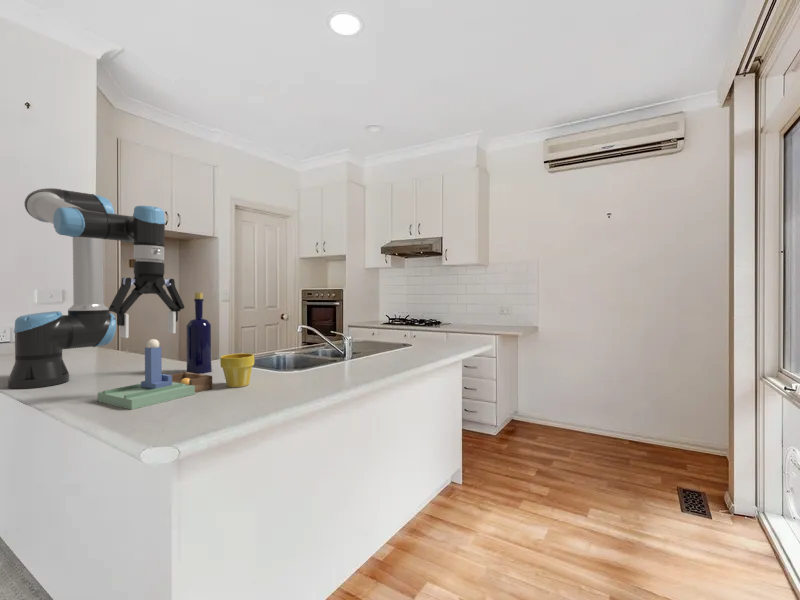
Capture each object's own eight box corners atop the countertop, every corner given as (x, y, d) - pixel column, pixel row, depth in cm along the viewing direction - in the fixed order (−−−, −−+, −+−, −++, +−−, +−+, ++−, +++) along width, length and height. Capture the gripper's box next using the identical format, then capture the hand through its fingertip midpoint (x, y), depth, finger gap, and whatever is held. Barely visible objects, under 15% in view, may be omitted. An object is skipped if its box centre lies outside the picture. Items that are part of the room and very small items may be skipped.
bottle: (205, 374, 151) (204, 292, 150) (180, 374, 151) (180, 292, 151) (217, 369, 160) (216, 292, 160) (193, 369, 160) (193, 292, 160)
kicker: (140, 386, 119) (140, 339, 119) (158, 383, 124) (158, 337, 124) (155, 389, 116) (154, 340, 116) (173, 385, 121) (172, 338, 120)
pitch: (97, 401, 113) (97, 389, 113) (161, 388, 129) (161, 377, 129) (131, 409, 106) (131, 396, 106) (194, 394, 122) (194, 383, 122)
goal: (164, 388, 129) (164, 375, 129) (185, 384, 135) (185, 371, 135) (191, 393, 123) (191, 380, 123) (212, 388, 129) (212, 375, 129)
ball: (185, 389, 130) (175, 388, 127) (188, 378, 131) (178, 376, 128) (192, 390, 128) (182, 389, 125) (195, 379, 129) (186, 377, 126)
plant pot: (213, 386, 131) (213, 356, 131) (239, 380, 140) (239, 352, 140) (235, 390, 127) (235, 359, 126) (261, 383, 136) (261, 354, 135)
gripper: (109, 258, 105) (109, 341, 105) (197, 263, 127) (196, 332, 128) (93, 258, 108) (93, 338, 109) (181, 263, 130) (181, 330, 131)
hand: (149, 335), depth 118 cm, fingers open, 13 cm apart
